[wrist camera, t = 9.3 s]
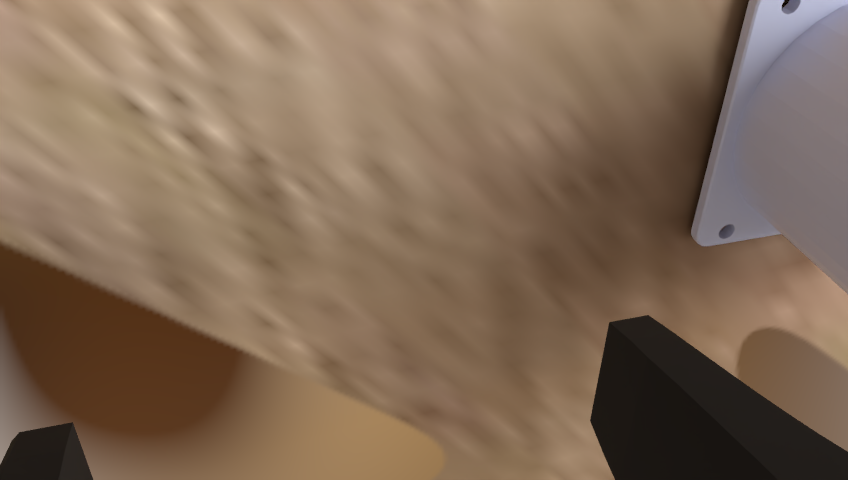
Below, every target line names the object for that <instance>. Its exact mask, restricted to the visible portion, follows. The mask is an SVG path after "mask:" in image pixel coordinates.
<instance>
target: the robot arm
mask: <svg viewBox="0 0 848 480" xmlns="http://www.w3.org/2000/svg"><path fill="white" fill-rule="evenodd" d="M783 2H784V0H749V2H748V6H747V10H746V14H745V18H744V22H743V26H742V30H741V34H740V38H739V42H738V46H737V50H736V54H735V58H734V62H733V66H732V70H731V74H730V78H729V82H728V86H727V90H726V94H725V98H724V102H723V106H722V110H721V114H720V118H719V122H718V126H717V130H716V134H715V138H714V142H713V146H712V150H711V154H710V158H709V162H708V166H707V170H706V173H705V177H704V181H703V185H702V189H701V193H700V197H699V201H698V205H697V209H696V213H695V217H694V221H693V225H692V229H691V236H692V237H693V239H694V240H695V241H696V242H697V243H698V244H699V245H701V246H713V245H719V244H725V243H731V242H737V241H743V240H749V239H755V238H761V237H767V236H773V235H779V234H782V235H783V236H785V237H786V238H787V239H788V240H789V241H790V242H791V243H792V244H793V245H794V246H796V247H797V248H798V249H799V250H800V251H801V252H802V253H803V254H804V255H805V256H807V257H808V258H809V259H810V260H811V261H812V262H813V263H814V264H815V265H816V266H817V267H819V268H820V269H821V270H822V271H823V272H824V273H825V274H826V275H827V276H828V277H830V278H831V279H832V280H833V281H834V282H835V283H836V284H837V285H838V286H839V287H840V288H842V289H843V290H844V291H845V292H846V293H847V294H848V0H789V2H788V4H787V5H785V6H784V7H783V8H782V4H783ZM724 226H725V227H724ZM723 227H724V228H723ZM722 228H723V229H722ZM721 229H722V230H721ZM590 421H591V424H592V426H593V429H594V431H595V434H596V436H597V439H598V441H599V443H600V446H601V448H602V451H603V453H604V456H605V458H606V460H607V462H608V465H609V467H610V469H611V471H612V474H613V476H614V478H615V480H848V452H847V451H845V450H844V449H842V448H841V447H839V446H837V445H836V444H834V443H833V442H831V441H829V440H828V439H826V438H825V437H823V436H821V435H819V434H818V433H817V432H815V431H814V430H812V429H810V428H809V427H808V426H806V425H804V424H803V423H801V422H800V421H798V420H797V419H795V418H794V417H792V416H791V415H789V414H788V413H786V412H785V411H783V410H782V409H780V408H779V407H777V406H776V405H775V404H773V403H772V402H770V401H769V400H767V399H766V398H764V397H763V396H761V395H760V394H758V393H757V392H755V391H754V390H753V389H751V388H750V387H749V386H747V385H746V384H744V383H743V382H741V381H740V380H739V379H737V378H736V377H734V376H733V375H732V374H730V373H729V372H727V371H726V370H725V369H723V368H722V367H720V366H719V365H718V364H716V363H715V362H713V361H712V360H711V359H709V358H708V357H706V356H705V355H704V354H702V353H701V352H700V351H698V350H697V349H695V348H694V347H693V346H691V345H690V344H688V343H687V342H686V341H684V340H683V339H682V338H680V337H679V336H677V335H676V334H675V333H673V332H672V331H670V330H669V329H667V328H666V327H665V326H663V325H662V324H660V323H659V322H657V321H656V320H654V319H653V318H651V317H650V316H648V315H646V316H641V317H636V318H630V319H625V320H620V321H614V322H609V327H608V332H607V337H606V342H605V347H604V352H603V358H602V363H601V368H600V373H599V378H598V383H597V388H596V394H595V399H594V404H593V409H592V414H591V419H590ZM0 480H93V478H92V475H91V472H90V469H89V467H88V464H87V461H86V458H85V455H84V453H83V450H82V447H81V444H80V441H79V439H78V436H77V433H76V430H75V427H74V425H73V423H67V424H62V425H56V426H51V427H46V428H40V429H35V430H30V431H25V432H19V434H18V435H17V436H16V437H15V438H14V439H13V440H12V442H11V444H10V446H9V448H8V450H7V452H6V454H5V456H4V458H3V461H2V463H1V465H0Z"/></svg>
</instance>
